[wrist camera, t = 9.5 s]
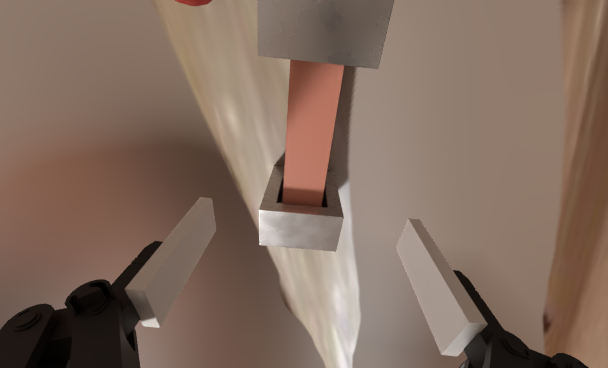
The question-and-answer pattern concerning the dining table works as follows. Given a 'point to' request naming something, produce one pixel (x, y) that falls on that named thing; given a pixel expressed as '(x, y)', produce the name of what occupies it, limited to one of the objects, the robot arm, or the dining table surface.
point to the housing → (324, 30)
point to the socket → (300, 217)
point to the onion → (194, 2)
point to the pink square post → (310, 129)
